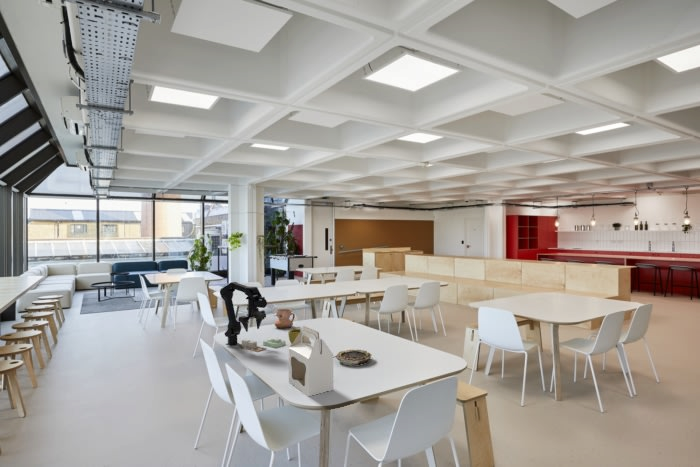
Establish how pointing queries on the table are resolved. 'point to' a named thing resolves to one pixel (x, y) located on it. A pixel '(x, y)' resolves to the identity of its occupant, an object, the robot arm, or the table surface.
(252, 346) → the white small cube
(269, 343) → the green bin
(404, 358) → the table surface
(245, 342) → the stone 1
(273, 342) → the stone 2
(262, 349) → the walnut tray
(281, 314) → the ceramic jug
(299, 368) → the gable box
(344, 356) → the pie
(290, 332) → the flower pot
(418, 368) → the table surface
